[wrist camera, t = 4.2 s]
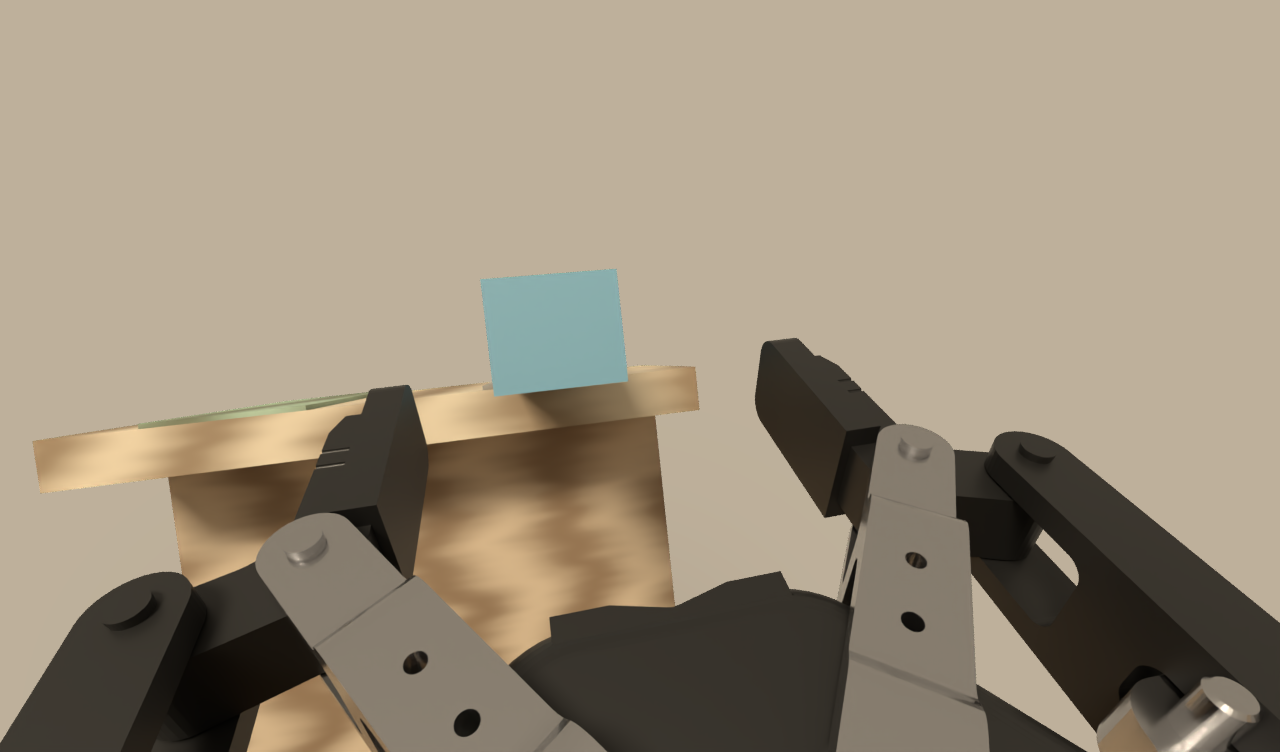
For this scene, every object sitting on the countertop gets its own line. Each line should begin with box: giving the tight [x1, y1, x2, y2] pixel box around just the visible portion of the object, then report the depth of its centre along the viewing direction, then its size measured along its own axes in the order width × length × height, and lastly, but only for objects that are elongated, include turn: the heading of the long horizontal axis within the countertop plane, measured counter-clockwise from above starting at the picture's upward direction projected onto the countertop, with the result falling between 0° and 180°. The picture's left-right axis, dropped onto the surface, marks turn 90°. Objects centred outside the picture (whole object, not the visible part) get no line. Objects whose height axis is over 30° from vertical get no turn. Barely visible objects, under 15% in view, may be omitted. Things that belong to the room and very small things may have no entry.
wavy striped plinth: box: [33, 365, 699, 752], centre depth 30 cm, size 26×13×32 cm, turn 101°
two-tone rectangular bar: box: [481, 269, 628, 397], centre depth 25 cm, size 5×22×4 cm, turn 11°
